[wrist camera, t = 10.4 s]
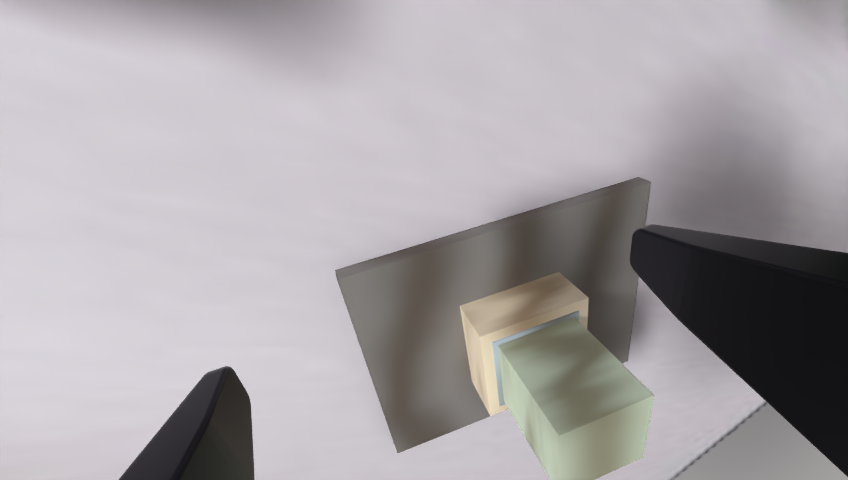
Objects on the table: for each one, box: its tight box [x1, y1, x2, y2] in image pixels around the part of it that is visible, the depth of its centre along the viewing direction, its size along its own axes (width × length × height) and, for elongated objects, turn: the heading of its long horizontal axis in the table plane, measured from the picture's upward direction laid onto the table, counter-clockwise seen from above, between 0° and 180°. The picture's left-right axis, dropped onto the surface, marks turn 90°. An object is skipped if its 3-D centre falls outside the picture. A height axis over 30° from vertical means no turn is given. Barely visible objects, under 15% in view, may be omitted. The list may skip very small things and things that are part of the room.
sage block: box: [498, 317, 654, 480], centre depth 21 cm, size 5×5×6 cm
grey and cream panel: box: [335, 177, 651, 453], centre depth 26 cm, size 20×16×4 cm
